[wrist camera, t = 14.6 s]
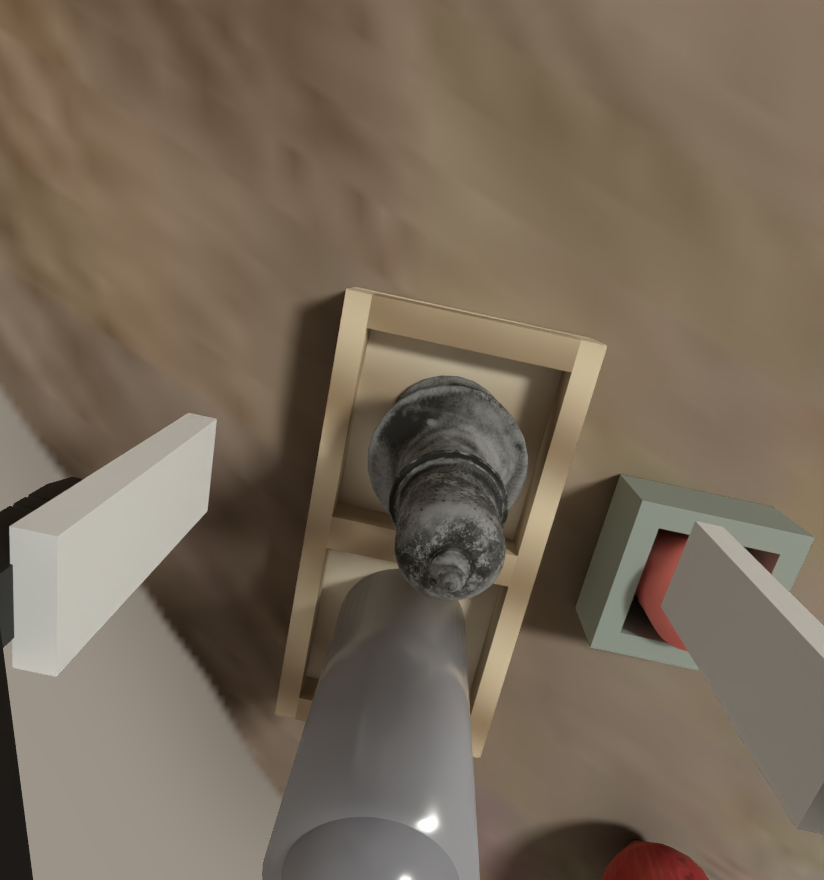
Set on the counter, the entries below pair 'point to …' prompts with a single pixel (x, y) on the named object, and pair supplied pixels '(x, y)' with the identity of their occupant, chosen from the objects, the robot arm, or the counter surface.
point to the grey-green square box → (629, 544)
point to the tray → (369, 524)
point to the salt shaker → (448, 483)
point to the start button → (661, 582)
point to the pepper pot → (384, 748)
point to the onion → (652, 864)
